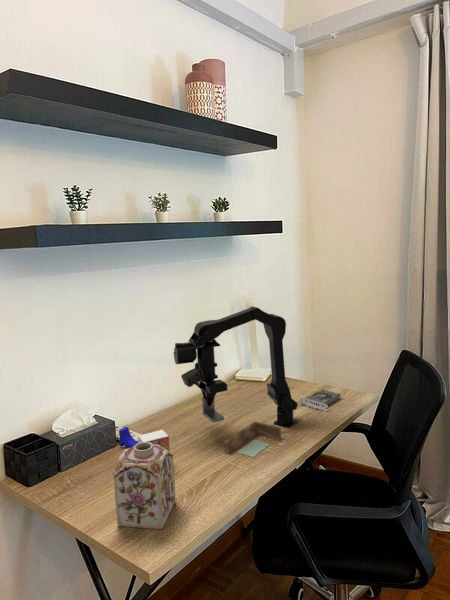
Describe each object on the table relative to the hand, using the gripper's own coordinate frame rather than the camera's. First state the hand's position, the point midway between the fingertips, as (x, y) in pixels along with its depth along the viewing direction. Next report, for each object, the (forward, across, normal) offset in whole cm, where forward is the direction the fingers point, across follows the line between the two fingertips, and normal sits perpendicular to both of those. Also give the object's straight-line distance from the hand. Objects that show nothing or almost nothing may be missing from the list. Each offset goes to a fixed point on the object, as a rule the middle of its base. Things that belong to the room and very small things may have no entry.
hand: (208, 405), depth 154 cm
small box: (+11, +11, -23) cm, 28 cm away
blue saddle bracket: (+12, -5, -23) cm, 26 cm away
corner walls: (+11, +14, +9) cm, 20 cm away
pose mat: (+11, +15, +8) cm, 21 cm away
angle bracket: (+3, +3, 0) cm, 5 cm away
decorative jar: (+11, +31, -32) cm, 46 cm away
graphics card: (+12, -4, +52) cm, 54 cm away
